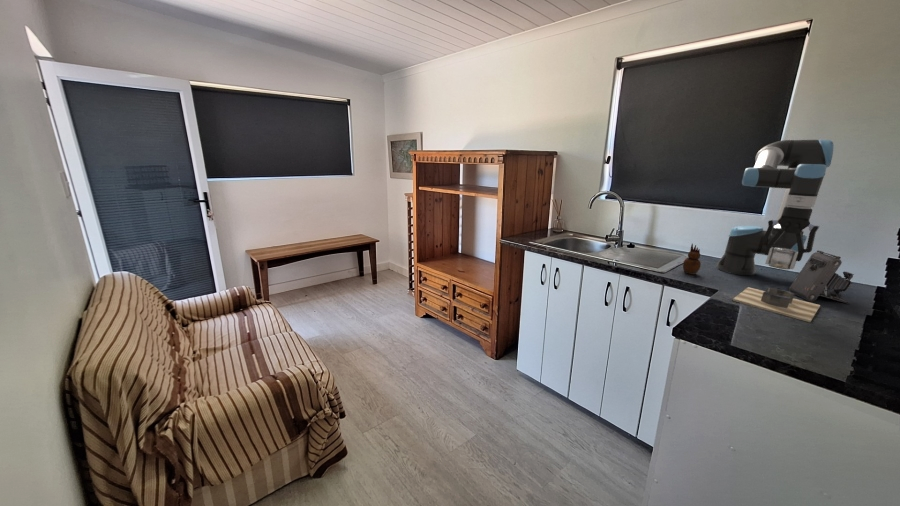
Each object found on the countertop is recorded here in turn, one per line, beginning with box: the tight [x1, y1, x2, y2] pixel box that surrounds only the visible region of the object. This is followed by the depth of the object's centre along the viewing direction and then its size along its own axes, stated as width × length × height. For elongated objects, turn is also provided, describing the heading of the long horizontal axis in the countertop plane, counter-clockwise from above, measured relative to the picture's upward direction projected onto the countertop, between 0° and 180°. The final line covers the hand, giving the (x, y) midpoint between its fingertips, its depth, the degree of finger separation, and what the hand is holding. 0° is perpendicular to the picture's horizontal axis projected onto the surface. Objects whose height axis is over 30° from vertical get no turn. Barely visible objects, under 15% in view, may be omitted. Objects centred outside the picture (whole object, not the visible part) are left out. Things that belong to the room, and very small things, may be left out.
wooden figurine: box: [682, 243, 702, 275], centre depth 163 cm, size 7×6×15 cm
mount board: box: [732, 286, 821, 323], centre depth 132 cm, size 22×22×1 cm
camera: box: [788, 250, 855, 305], centre depth 137 cm, size 11×17×20 cm, turn 79°
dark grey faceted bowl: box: [761, 286, 796, 308], centre depth 131 cm, size 11×8×4 cm
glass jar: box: [768, 247, 796, 270], centre depth 128 cm, size 6×6×7 cm
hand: (779, 265), depth 129 cm, fingers closed on glass jar, 6 cm apart
